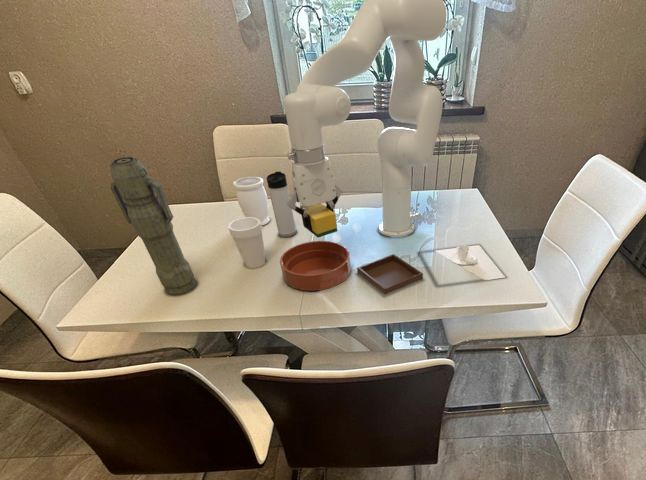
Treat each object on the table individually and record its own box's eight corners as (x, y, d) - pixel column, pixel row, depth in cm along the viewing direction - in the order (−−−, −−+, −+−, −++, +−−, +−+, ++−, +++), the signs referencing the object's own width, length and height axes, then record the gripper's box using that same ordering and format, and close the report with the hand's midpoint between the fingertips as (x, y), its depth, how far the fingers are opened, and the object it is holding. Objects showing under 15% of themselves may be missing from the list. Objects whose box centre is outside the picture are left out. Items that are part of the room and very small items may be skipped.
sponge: (322, 220, 107) (319, 202, 104) (337, 231, 101) (335, 213, 98) (303, 226, 105) (300, 208, 102) (317, 237, 99) (314, 219, 96)
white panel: (480, 265, 112) (482, 253, 109) (455, 268, 111) (456, 256, 109) (470, 251, 119) (471, 239, 116) (445, 254, 118) (447, 242, 115)
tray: (393, 260, 117) (393, 253, 115) (422, 280, 108) (423, 273, 106) (357, 274, 112) (357, 267, 110) (384, 296, 103) (384, 289, 101)
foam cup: (275, 257, 122) (266, 218, 113) (260, 272, 115) (249, 232, 106) (250, 254, 124) (239, 215, 115) (234, 268, 118) (221, 228, 109)
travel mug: (298, 229, 136) (287, 171, 123) (294, 237, 132) (282, 178, 118) (281, 229, 137) (269, 171, 123) (276, 237, 132) (263, 178, 119)
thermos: (198, 293, 108) (142, 163, 84) (156, 297, 108) (89, 168, 84) (205, 277, 115) (155, 152, 91) (166, 280, 114) (105, 156, 90)
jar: (278, 219, 143) (269, 178, 133) (258, 230, 137) (248, 188, 127) (258, 214, 148) (248, 174, 138) (238, 224, 142) (226, 183, 131)
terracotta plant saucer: (330, 250, 123) (328, 234, 120) (363, 276, 111) (362, 260, 107) (273, 270, 116) (269, 254, 112) (301, 300, 103) (298, 283, 99)
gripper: (281, 166, 85) (296, 240, 97) (347, 150, 91) (353, 221, 103) (269, 158, 90) (285, 229, 102) (333, 143, 96) (340, 212, 108)
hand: (319, 225), depth 103 cm, fingers closed on sponge, 6 cm apart
